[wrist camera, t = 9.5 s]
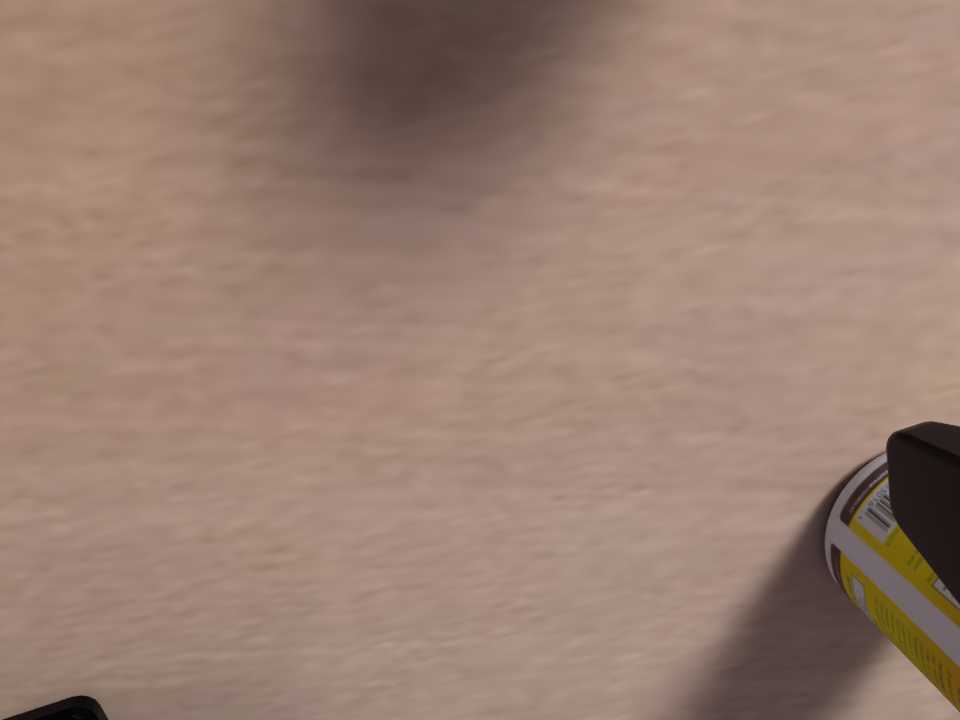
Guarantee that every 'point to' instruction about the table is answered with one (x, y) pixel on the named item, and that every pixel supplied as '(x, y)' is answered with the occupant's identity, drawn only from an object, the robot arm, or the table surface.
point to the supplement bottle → (893, 579)
